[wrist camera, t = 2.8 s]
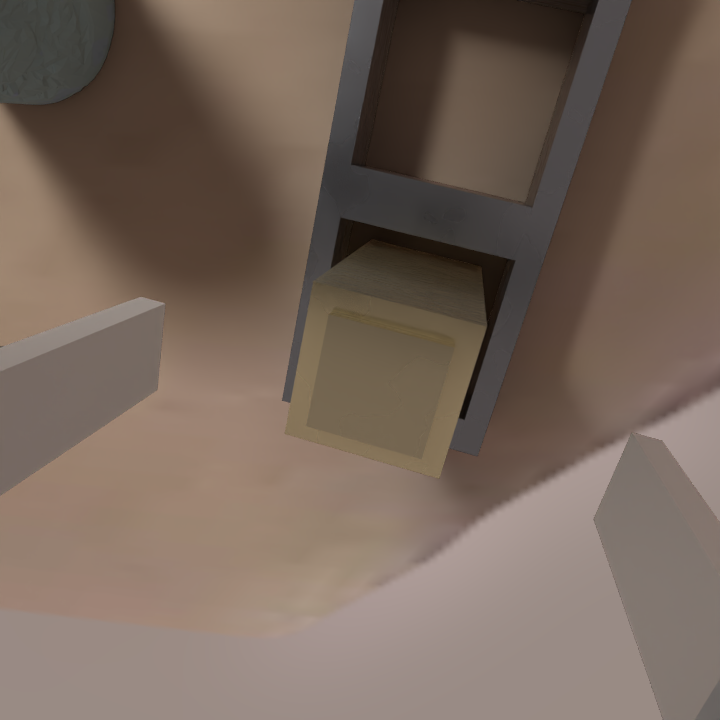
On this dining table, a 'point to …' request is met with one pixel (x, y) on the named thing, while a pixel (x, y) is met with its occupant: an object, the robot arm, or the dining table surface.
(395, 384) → the beige recessed-panel block
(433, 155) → the dining table surface
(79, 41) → the grey-green cup
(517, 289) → the grey compartment tray
